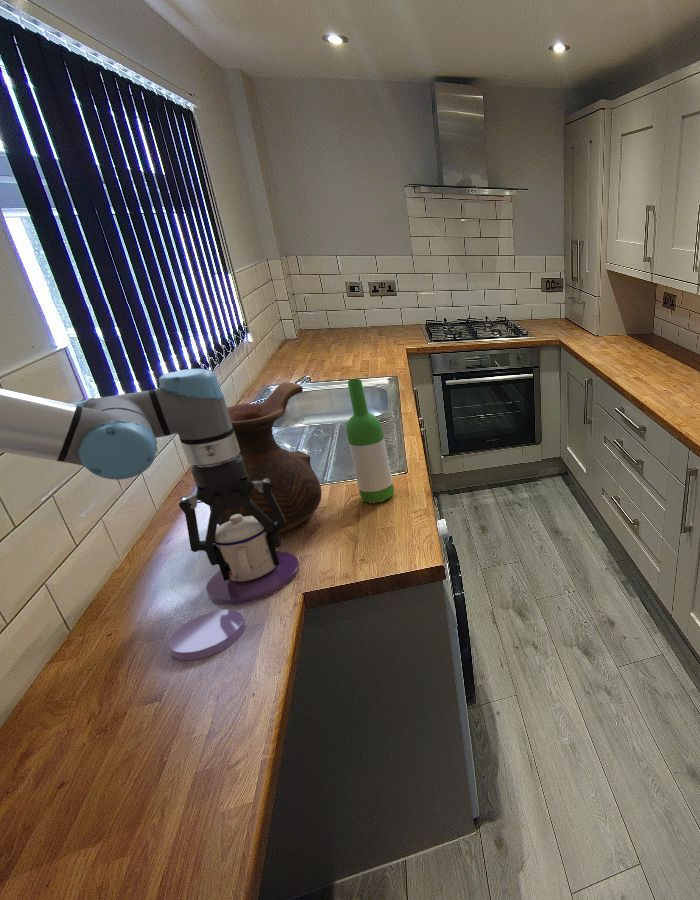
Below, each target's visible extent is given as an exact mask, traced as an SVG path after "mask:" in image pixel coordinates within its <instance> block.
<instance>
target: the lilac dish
mask: <svg viewBox="0 0 700 900" xmlns="http://www.w3.org/2000/svg"><path fill="white" fill-rule="evenodd" d="M245 629H246V622H245V619H244V616H243V614H242V613H241V612H240V611H238V610H236V609H230V608H229V609H228V608H227V609H226V608H223V609H217V610H212V611H209V612H205V613H202V614H200V615H198V616H196V617H194V618H192V619H189V620H187V621H186V622H185V623H184V624H182V625H180V626H179V627H178V628H177V629H176V630H175V631H174V632H173V633H172V634H171V636H170V638H169V639H168V648H169V650H170V652H171V654H172V656H173V658H175V659H177V660H180V661H196V660H201V659H204V658H207V657H208V658H209V657H210V656H213V655H215V654H218V653H220V652H222V651H224V650H226V649H227V648H229V647H230V646H231V645H233V644H234V643H235V642H237V640H239V639H240V638H241V636H242V635H243V633H244V631H245Z"/></svg>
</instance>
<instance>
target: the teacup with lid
mask: <svg viewBox="0 0 700 900" xmlns="http://www.w3.org/2000/svg"><path fill="white" fill-rule="evenodd" d="M267 534H268V531H267V530H266V529H265V528H264V527H263V526H262V525H261V524H260V523H259V522H258V521H257V520H256V519H255V518H254V517H253V516H246V517H243V516H242V515H241V514H235V515H233V516H231V517H230V521H228V522H226V523H224V524H222V525H221V526H219V525H218V526H217V529H216V534H215V540H214V544H215V546H216V547H217V548H219V551H220V553H221V556H222V559H223V562H224V564H225V567H226V570H227V573H228V575H229V579H230V580H233V581H248V580H252V579H256V578H259V577H261V576H263V575H265V574H267V573H269V572H270V571H271V570H273V569H274V568H275V567H276V566H275V564H274V561H273V558H272V554H271V551H270V548H269V545H268V542H267V538H266V535H267Z"/></svg>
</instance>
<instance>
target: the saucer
mask: <svg viewBox="0 0 700 900" xmlns="http://www.w3.org/2000/svg"><path fill="white" fill-rule="evenodd" d="M276 551H277V550H276ZM277 555H278V558H279V564H280V565H277V566H276V567H275V568H274V569H273V570H271V571H270V572H269V573H267V574H265V575H263V576H261V577H259V578H256V579H252V580H248V581H233V580H230V579H229V580H226V581H224V578H223V576H222V573H221V570H220V569H219V571H217V572H216V573H214V574H213V575H212V576H211V578H210V579H209V581H208V582H207V584H206V593H207V595H208V598H209V599H210V600H211V601H212V602H214V603H215V604H219V605H226V606H230V605H231V606H233V605H241V604H247V603H251V602H255V600H256V601H258V600H262V599H264V598H267V597H269V596H271V595H273V594H275V593H277V592H279V591H281V590H282V589H284V588H285V587H286V586H288V585H289V584H290V583H291V582H292V581H293V580H294V579H295V578H296V577H297V576H296V574H297V573H298V574H299V572H300V568H299V567H300V563H299V559H298V558H297V556H296V555H294V554H293V553H291V552H287V551H281V550H280V551H277ZM298 571H299V572H298ZM298 574H297V575H298ZM295 576H296V577H295ZM294 577H295V578H294ZM293 578H294V579H293ZM292 579H293V580H292ZM291 580H292V581H291ZM290 581H291V582H290ZM289 582H290V583H289ZM288 583H289V584H288ZM287 584H288V585H287ZM285 585H286V586H285ZM284 586H285V587H284ZM283 587H284V588H283ZM281 588H282V589H281ZM280 589H281V590H280ZM278 590H279V591H278ZM276 591H277V592H276ZM274 592H275V593H274ZM272 593H273V594H272ZM268 595H269V596H268ZM266 596H267V597H266ZM261 598H262V599H261Z"/></svg>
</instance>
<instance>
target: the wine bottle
mask: <svg viewBox="0 0 700 900" xmlns="http://www.w3.org/2000/svg"><path fill="white" fill-rule="evenodd" d="M347 387H348V392H349V396H350V402H351V406H352V411H353V415H352V416H351V417H350V418H349V419H348V421H347V423H346V428H345V431H346V436H347V441H348V445H349V450H350V456H351V458H352V464H353V468H354V473H355V477H356V482H357V487H358V492H359V495H360V498H361V500H362V501H363V502H364V501H365V502H364V503H367V502H371V503H370V504H374V503H373V502H380V501H383V500H386V499H388V498H390V497H391V496H392V495H393V496H394V492H395V489H394V483H393V477H392V472H391V467H390V461H389V457H388V452H387V447H386V446H387V445H386V440H385V436H384V432H383V431H384V430H383V426H382V423H381V421H380V419H379V418H378V417H377V416H375V415H374V414H372V413H370V412H369V410H368V406H367V401H366V396H365V391H364V387H363V382H362V379H361V378H351V379H348V380H347ZM393 496H392V497H393ZM392 497H391V498H392ZM391 498H390V499H391ZM388 500H389V499H388ZM386 501H387V500H386ZM380 503H381V502H380Z"/></svg>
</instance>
